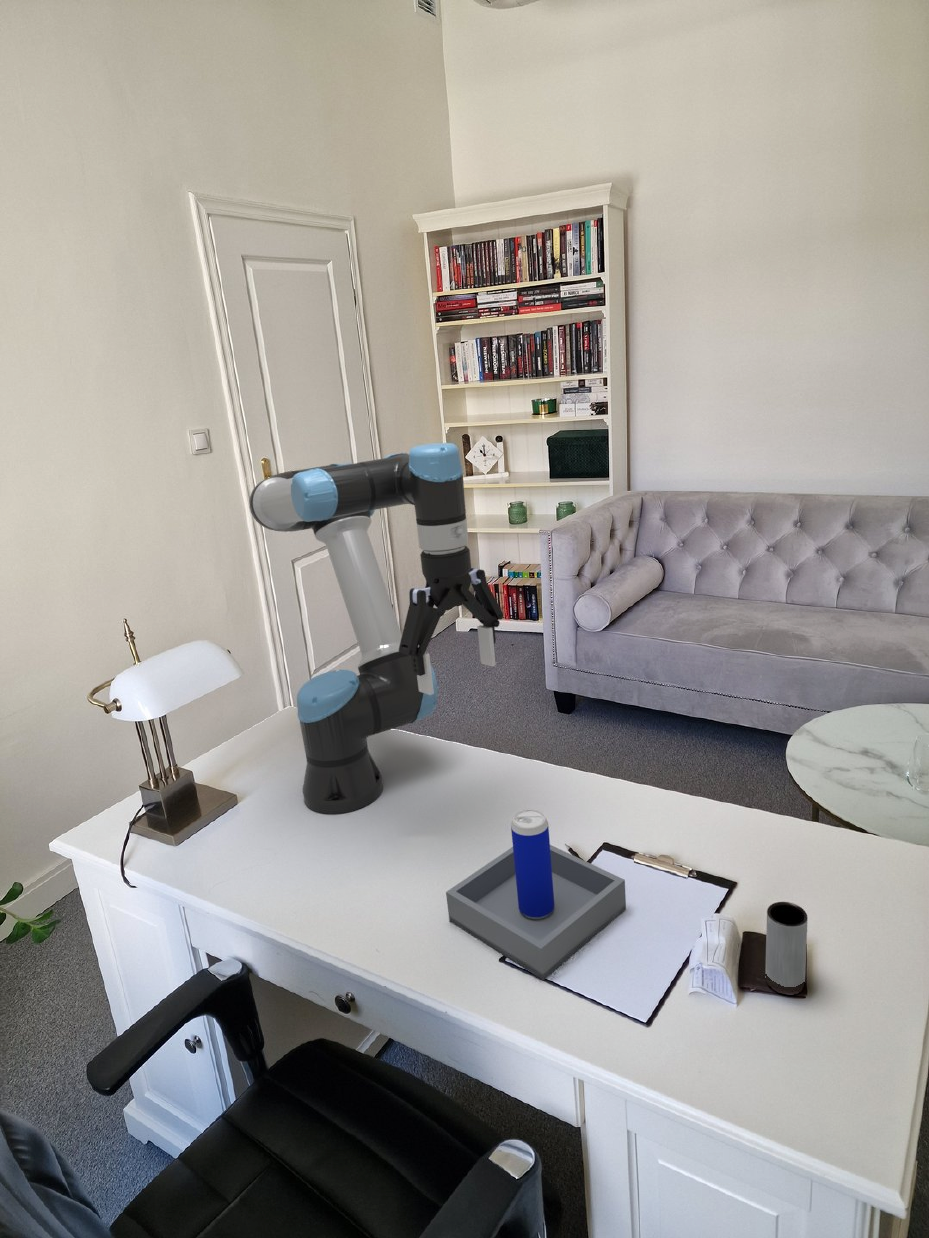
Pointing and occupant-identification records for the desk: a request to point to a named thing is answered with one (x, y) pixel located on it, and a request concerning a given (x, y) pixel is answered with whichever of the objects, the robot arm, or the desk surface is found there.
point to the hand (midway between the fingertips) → (458, 678)
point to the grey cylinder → (786, 944)
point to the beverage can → (532, 864)
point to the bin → (537, 943)
